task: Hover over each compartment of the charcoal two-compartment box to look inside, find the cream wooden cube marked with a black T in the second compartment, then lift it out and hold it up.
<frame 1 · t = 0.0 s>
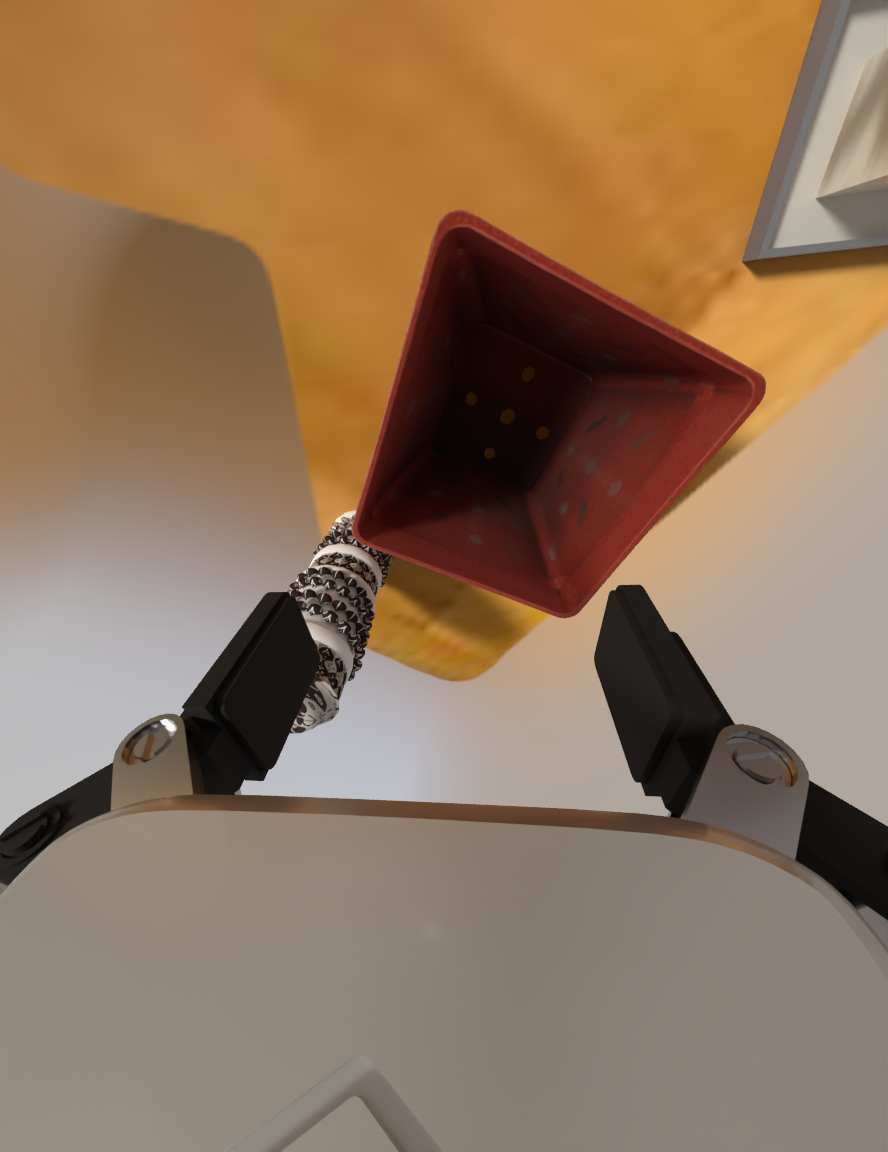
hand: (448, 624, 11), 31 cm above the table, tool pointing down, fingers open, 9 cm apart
plant pot: (507, 413, 36), on the table
decorative candle: (364, 539, 47), on the table
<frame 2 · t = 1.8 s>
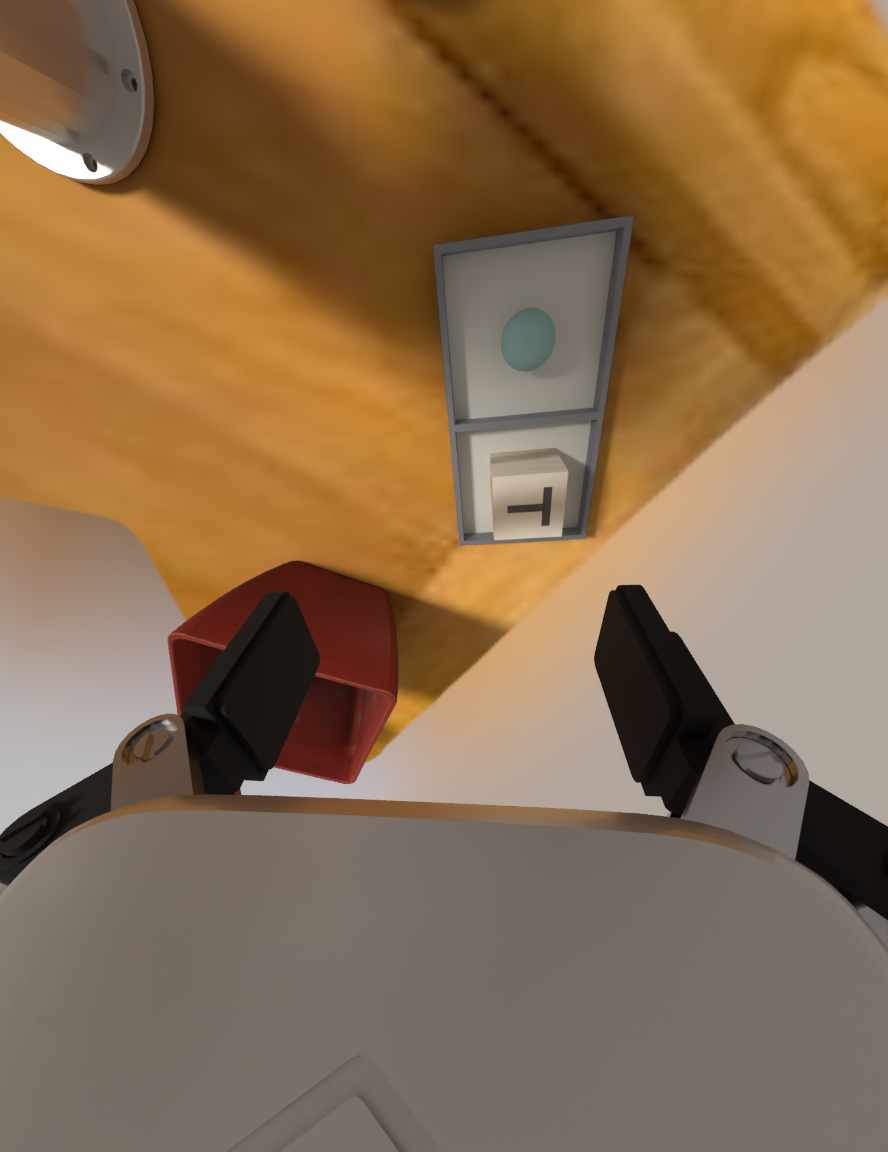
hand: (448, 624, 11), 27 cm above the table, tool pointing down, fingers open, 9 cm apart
plant pot: (332, 607, 48), on the table
letter cube: (521, 480, 36), resting on compartment box
compartment box: (522, 416, 32), on the table
teal ball: (524, 338, 29), resting on compartment box
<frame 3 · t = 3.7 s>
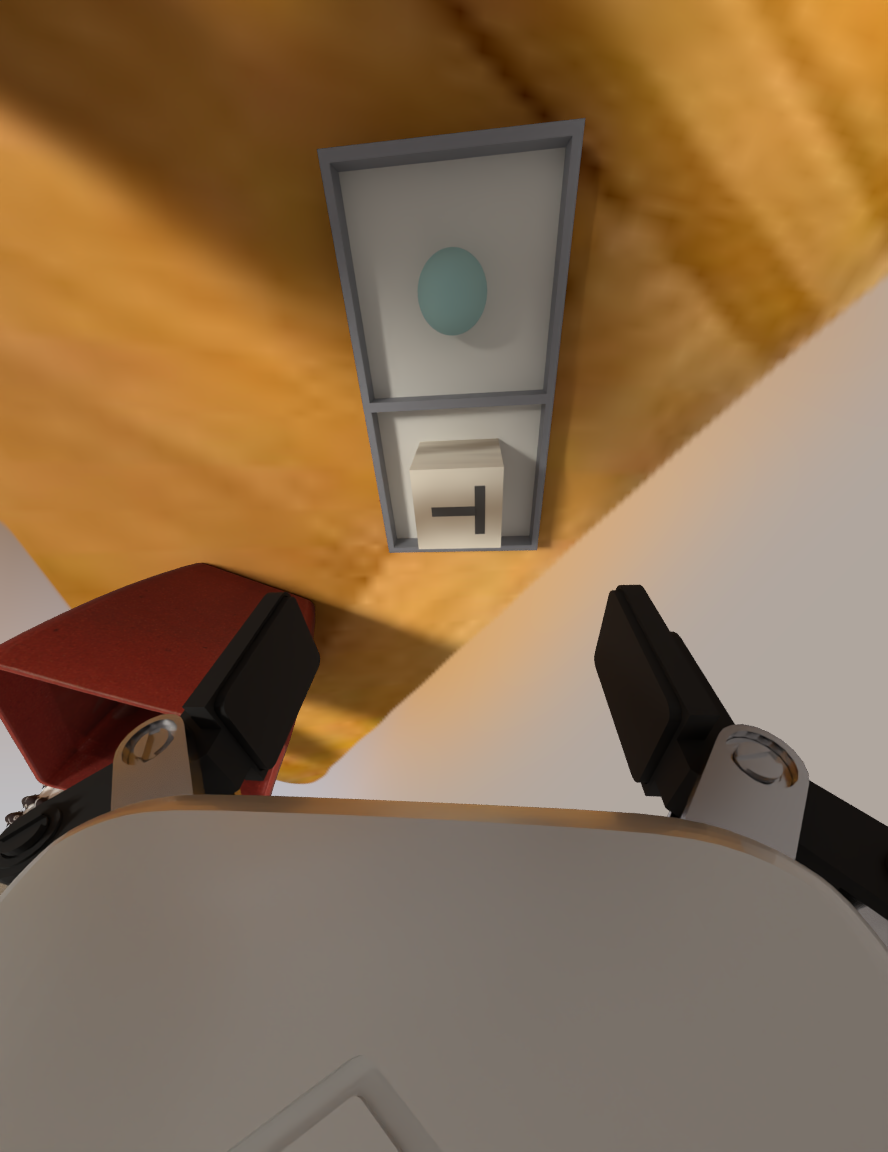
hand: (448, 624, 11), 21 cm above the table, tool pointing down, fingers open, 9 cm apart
plant pot: (252, 617, 42), on the table
letter cube: (460, 477, 29), resting on compartment box
compartment box: (457, 397, 26), on the table
teal ball: (453, 294, 22), resting on compartment box
decorative candle: (169, 689, 51), on the table
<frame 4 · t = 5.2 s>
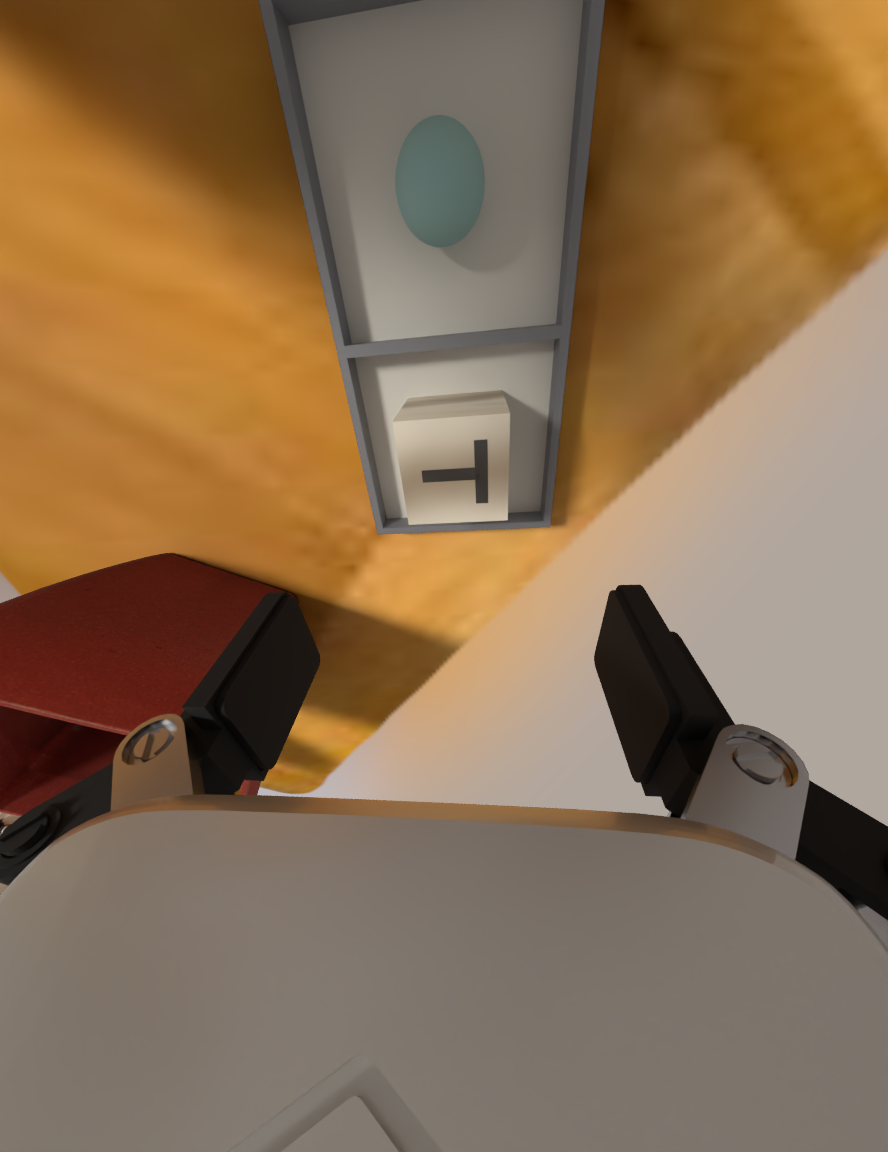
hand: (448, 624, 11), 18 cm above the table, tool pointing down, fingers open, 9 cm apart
plant pot: (231, 614, 37), on the table
letter cube: (457, 441, 25), resting on compartment box
compartment box: (451, 339, 22), on the table
teal ball: (442, 197, 18), resting on compartment box
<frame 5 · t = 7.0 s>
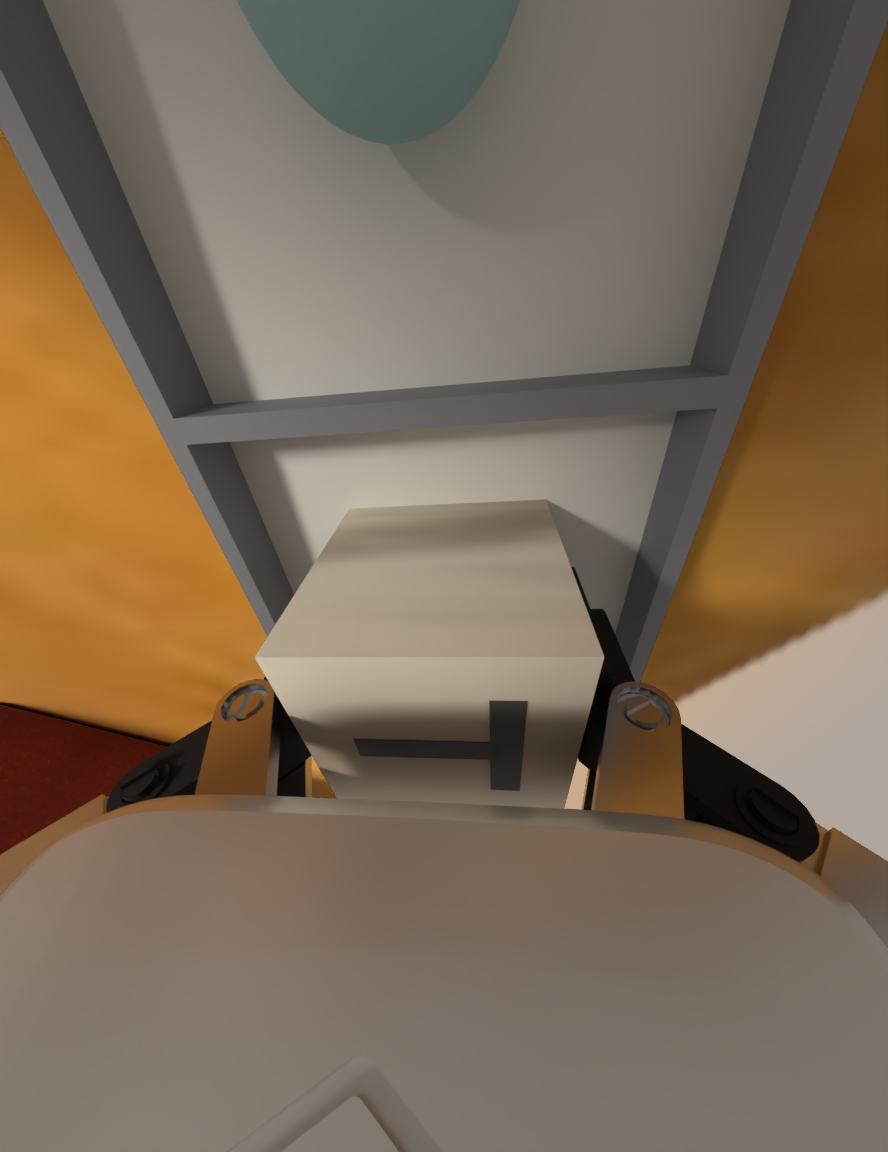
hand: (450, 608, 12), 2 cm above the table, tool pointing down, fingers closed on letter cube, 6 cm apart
plant pot: (121, 766, 25), on the table
letter cube: (451, 582, 13), resting on compartment box, touching gripper
compartment box: (437, 396, 10), on the table
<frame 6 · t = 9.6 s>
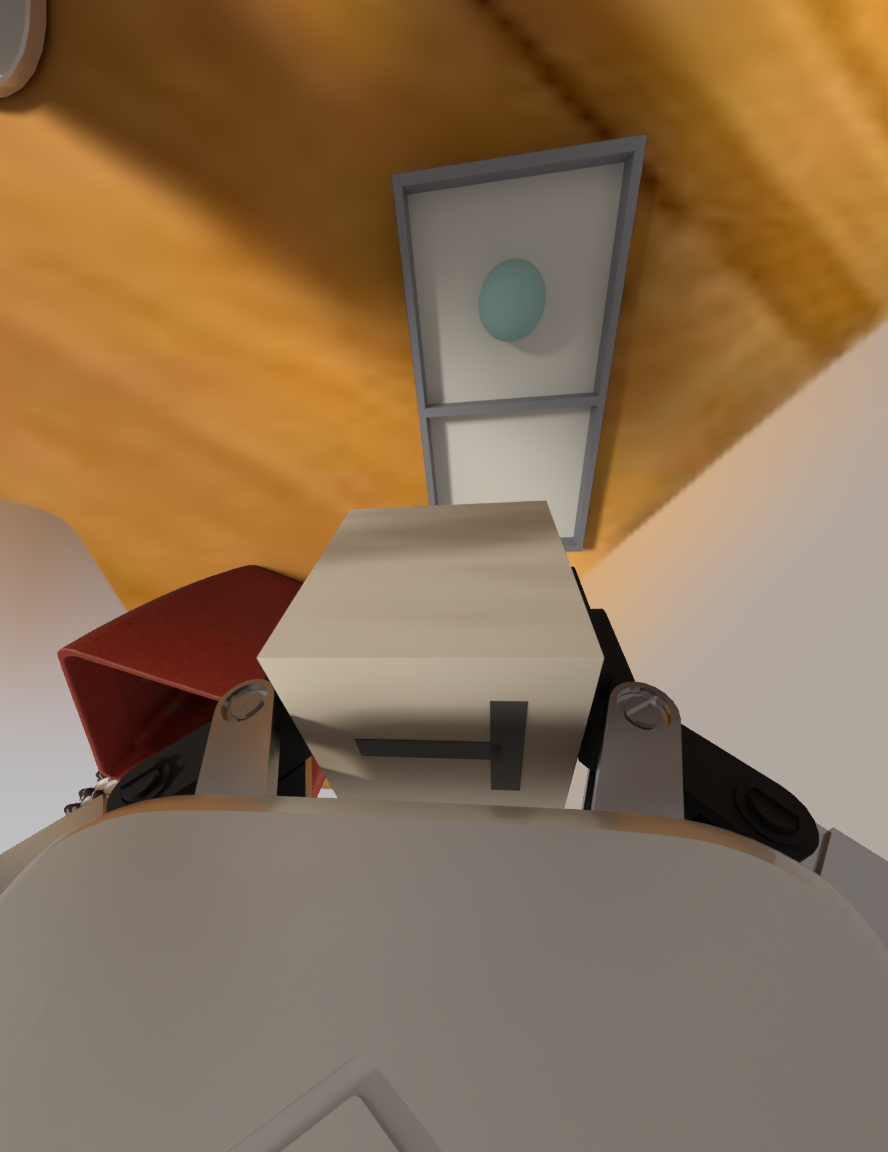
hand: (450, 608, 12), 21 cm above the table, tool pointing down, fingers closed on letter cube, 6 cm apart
plant pot: (295, 618, 43), on the table
letter cube: (452, 583, 13), point 20 cm above the table, touching gripper
compartment box: (507, 402, 27), on the table
teal ball: (509, 303, 23), resting on compartment box
decorative candle: (211, 689, 53), on the table
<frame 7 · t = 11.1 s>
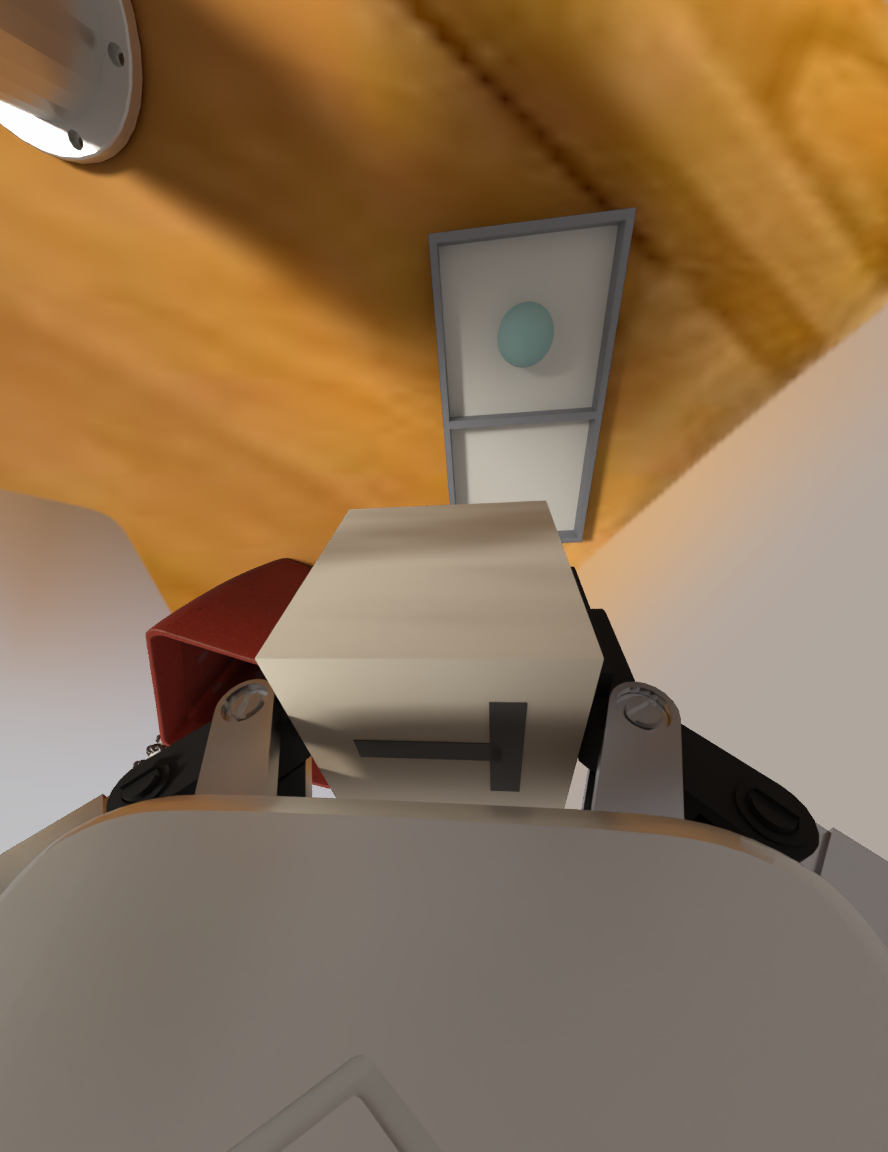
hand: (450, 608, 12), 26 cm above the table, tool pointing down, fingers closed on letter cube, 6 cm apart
plant pot: (322, 606, 47), on the table
letter cube: (451, 583, 13), point 24 cm above the table, touching gripper
compartment box: (518, 414, 32), on the table
teal ball: (522, 334, 28), resting on compartment box
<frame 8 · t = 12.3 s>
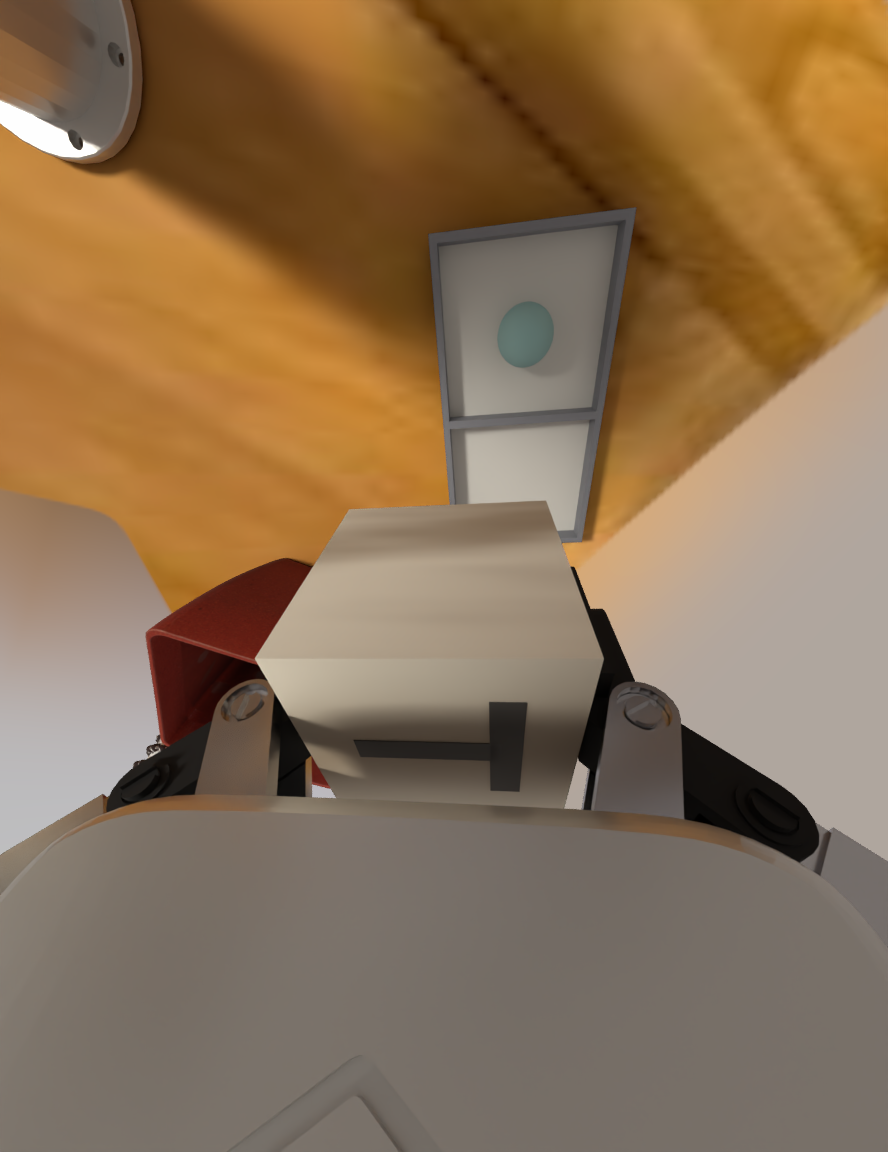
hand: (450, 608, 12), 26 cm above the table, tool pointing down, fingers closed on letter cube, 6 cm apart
plant pot: (322, 606, 47), on the table
letter cube: (451, 583, 13), point 24 cm above the table, touching gripper
compartment box: (518, 414, 32), on the table
teal ball: (522, 334, 28), resting on compartment box
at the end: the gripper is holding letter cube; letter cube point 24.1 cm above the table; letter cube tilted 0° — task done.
